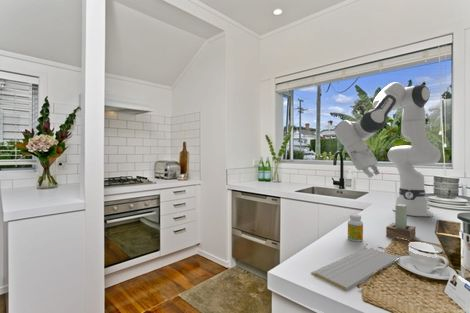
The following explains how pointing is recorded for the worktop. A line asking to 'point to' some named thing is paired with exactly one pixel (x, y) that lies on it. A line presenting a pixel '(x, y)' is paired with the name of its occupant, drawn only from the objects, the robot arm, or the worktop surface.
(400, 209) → the sage green tall block
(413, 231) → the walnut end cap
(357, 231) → the supplement bottle
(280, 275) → the worktop surface
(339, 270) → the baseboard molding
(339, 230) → the worktop surface
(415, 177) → the robot arm
